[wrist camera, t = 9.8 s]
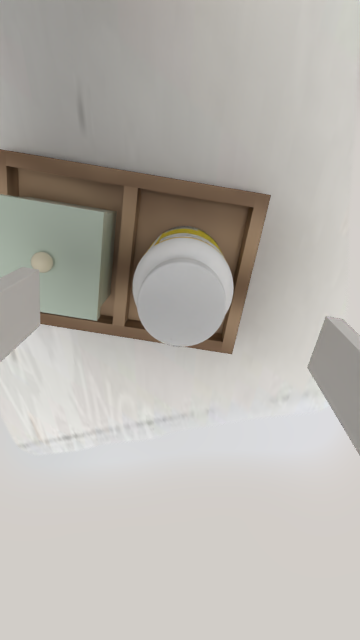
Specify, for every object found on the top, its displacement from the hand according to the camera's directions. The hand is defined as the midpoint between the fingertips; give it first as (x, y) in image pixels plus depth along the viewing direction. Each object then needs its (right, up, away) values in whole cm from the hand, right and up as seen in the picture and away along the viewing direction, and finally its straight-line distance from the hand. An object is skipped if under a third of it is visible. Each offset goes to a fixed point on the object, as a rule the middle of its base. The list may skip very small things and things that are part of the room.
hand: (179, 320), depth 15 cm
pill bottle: (0, +5, +12) cm, 13 cm away
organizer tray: (-4, +6, +13) cm, 15 cm away
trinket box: (-9, +6, +12) cm, 16 cm away
